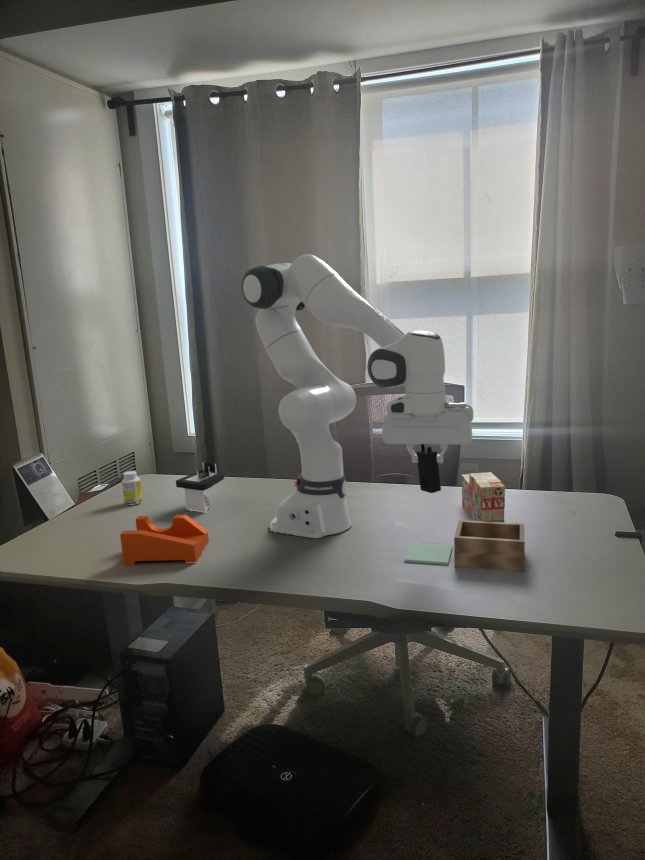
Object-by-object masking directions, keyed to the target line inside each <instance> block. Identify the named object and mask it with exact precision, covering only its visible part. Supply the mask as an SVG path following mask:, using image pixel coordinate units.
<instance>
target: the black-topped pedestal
mask: <svg viewBox="0 0 645 860" xmlns="http://www.w3.org/2000/svg"><path fill="white" fill-rule="evenodd" d="M223 480H225V472H222V471H217V463H213V464H210V463H209V462H207V463H206V462H202V469H201V470H199V471H198V470H197V471H196V472H194V473H191V474H189V475H187V476H183V477H182V478H179V479H176V480H175V486H176V488H180V489H184V498H185V506H186V510H187V509H192V510H198V511H203V512H205V509H206V508H207V507H210V500H209V498H208V497H207V496H206V495H207V494H206V490H208V489H210V488H212V487H213V486H215V485H217V484H218V483H220V482H222V481H223Z"/></svg>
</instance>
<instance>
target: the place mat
mask: <svg viewBox="0 0 645 860" xmlns="http://www.w3.org/2000/svg"><path fill="white" fill-rule="evenodd" d="M452 551H453V545H452V544H438V543H437V544H436V543H422V542H411V543H410V546H409V548H408V550H407V552H406V555H405V557H404V562H405V563H417V564H429V565H430V564H431V565H443V566H449V563H450V559H451V554H452Z"/></svg>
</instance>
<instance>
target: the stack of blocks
mask: <svg viewBox="0 0 645 860" xmlns="http://www.w3.org/2000/svg"><path fill="white" fill-rule="evenodd" d="M460 475H461V479H460V480H461V483H460V484H461V504H462V506H463V508H464V509H465V511H466V512H467V514H468V515H469V517H470V518H471V519H472V521H484V522H503V523H505V507H506V506H505V505H506V497H505V496H506V486H505V484H503V482H502V481H501V479H499V478H498V477H497V476H496V475H494V473H492V471H488V472H477V473H476V472H475V473H474V472H472V473H467V474H466V473H465V474H460Z"/></svg>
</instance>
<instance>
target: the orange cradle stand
mask: <svg viewBox="0 0 645 860" xmlns="http://www.w3.org/2000/svg"><path fill="white" fill-rule="evenodd" d="M172 521H173V522H172V525H171V526H169V527H166V528H162V527H158V526H156V525H154V524H153V523H152V521H151V520H150V516H149V515H138V516H137V517H136V518H135V527H136V530H135V529H133V530H132V529H130V530H122V532H120V533H119V535H120V536H119V537H120V545H121V552H122V559H123V565H124V566H131V565H132V566H134V565H136V564H137V562H145V561H146V562H147V561H148V562H149V561H150V562H151V561H184V563H185V564H189V563H188V562H197V563H198V561H199V560H198V558H199V557H200V558H201V556H202V555H201V553H202V551H203V550H204V548H205V546H206V545H207V543H208V542H209V543H210V539H209V531H208V530H207V529H206V528H205V527H203V525H201V524H199V523H198V522H197V521H195V520H194V519H192V517H190V516H188V515H187V514H175V516H174V517H173V520H172ZM209 543H208V544H209ZM207 546H208V545H207ZM205 549H206V548H205ZM204 551H205V550H204ZM204 551H203V552H204ZM202 554H203V553H202ZM200 555H201V556H200ZM200 558H199V559H200ZM197 560H198V561H197ZM186 562H187V563H186Z"/></svg>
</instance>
